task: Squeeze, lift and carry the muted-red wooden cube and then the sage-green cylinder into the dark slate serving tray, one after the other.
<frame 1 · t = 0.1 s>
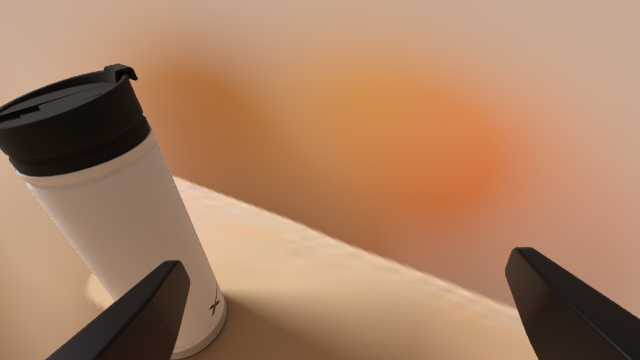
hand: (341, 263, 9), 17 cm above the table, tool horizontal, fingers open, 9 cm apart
travel mug: (192, 321, 26), on the table
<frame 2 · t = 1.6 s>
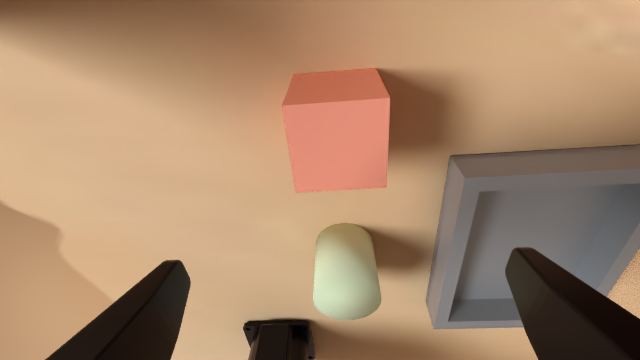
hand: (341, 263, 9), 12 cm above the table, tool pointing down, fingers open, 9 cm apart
red cube: (336, 110, 18), on the table
green cylinder: (344, 244, 24), on the table
serving tray: (517, 238, 23), on the table
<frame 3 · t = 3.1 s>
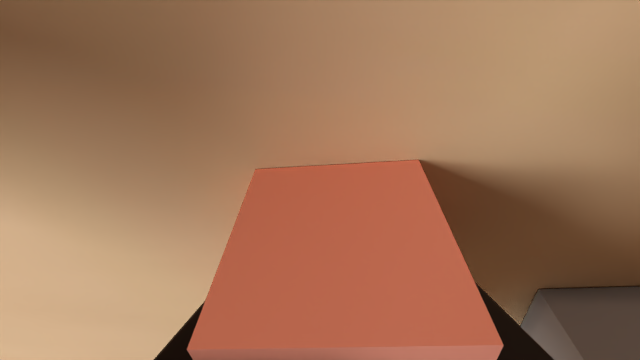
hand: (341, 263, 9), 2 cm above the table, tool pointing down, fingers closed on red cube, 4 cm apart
red cube: (339, 225, 10), on the table, touching gripper
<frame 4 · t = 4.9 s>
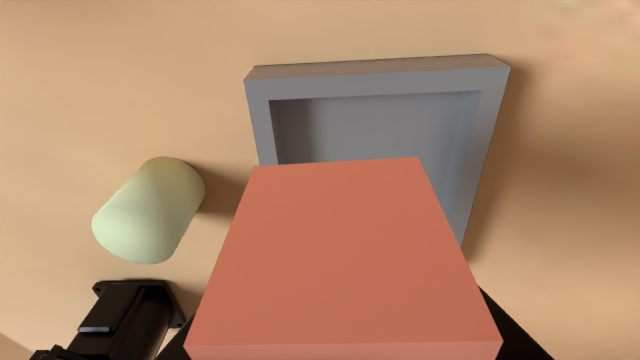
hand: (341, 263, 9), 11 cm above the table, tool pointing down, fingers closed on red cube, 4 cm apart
red cube: (338, 222, 10), point 10 cm above the table, touching gripper
green cylinder: (172, 184, 21), on the table
serving tray: (364, 179, 20), on the table
when the fingers open (4 cm above the table, at t = 6.7 s): red cube drops 2 cm, resting on serving tray.
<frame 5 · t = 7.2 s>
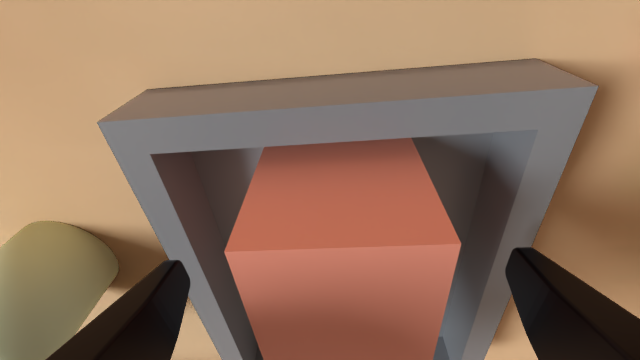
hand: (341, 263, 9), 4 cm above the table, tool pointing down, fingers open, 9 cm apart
red cube: (339, 189, 11), point 1 cm above the table, touching serving tray
green cylinder: (70, 255, 15), on the table
serving tray: (343, 245, 14), on the table
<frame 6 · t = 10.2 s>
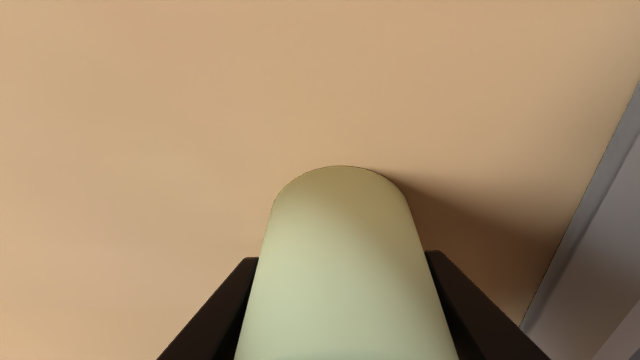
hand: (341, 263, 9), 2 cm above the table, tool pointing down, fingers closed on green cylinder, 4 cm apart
green cylinder: (339, 225, 10), on the table, touching gripper
when the fingers open (4 cm above the table, at t = 13.6 s): green cylinder drops 2 cm, resting on serving tray.
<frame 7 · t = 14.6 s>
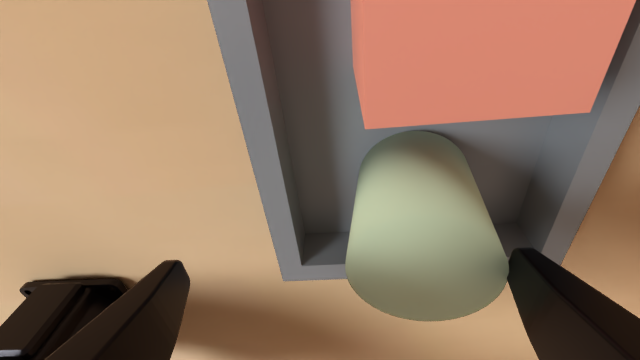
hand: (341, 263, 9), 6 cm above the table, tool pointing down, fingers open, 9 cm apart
green cylinder: (411, 179, 13), point 1 cm above the table, tilted 9°, touching gripper, serving tray
serving tray: (413, 92, 12), on the table
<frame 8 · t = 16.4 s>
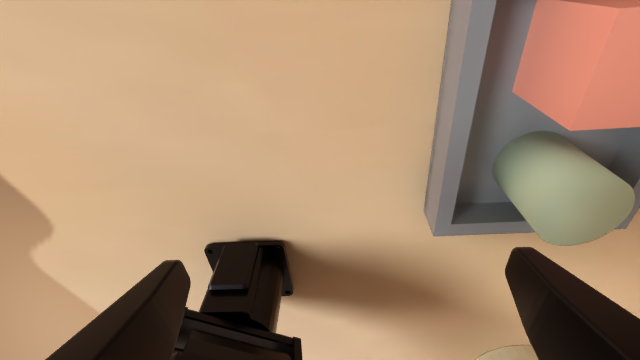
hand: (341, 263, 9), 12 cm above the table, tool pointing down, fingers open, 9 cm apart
red cube: (570, 44, 16), point 1 cm above the table, touching serving tray
green cylinder: (529, 162, 19), point 1 cm above the table, touching serving tray
serving tray: (541, 107, 18), on the table
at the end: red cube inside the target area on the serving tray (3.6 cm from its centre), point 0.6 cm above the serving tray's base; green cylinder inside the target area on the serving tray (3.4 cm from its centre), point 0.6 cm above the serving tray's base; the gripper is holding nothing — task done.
